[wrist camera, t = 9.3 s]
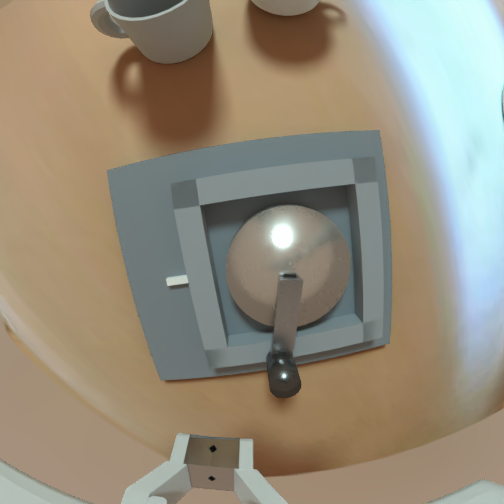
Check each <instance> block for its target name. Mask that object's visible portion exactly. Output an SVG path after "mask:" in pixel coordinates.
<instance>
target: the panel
mask: <svg viewBox="0 0 504 504" xmlns="http://www.w3.org/2000/svg"><path fill="white" fill-rule="evenodd" d="M107 174H108V181H109V187H110V194H111V200H112V205H113V211H114V216H115V222H116V227H117V232H118V236H119V241H120V246H121V250H122V254H123V259H124V263H125V267H126V271H127V275H128V279H129V283H130V287H131V290H132V294H133V298H134V301H135V305H136V308H137V312H138V315H139V318H140V322H141V325H142V328H143V331H144V334H145V337H146V340H147V343H148V346H149V349H150V352H151V355H152V358H153V361H154V364H155V367H156V369H157V372H158V375H159V377H160V380H177V379H191V378H203V377H214V376H223V375H232V374H240V373H248V372H255V371H262V370H267V365H266V356H267V354H268V353H269V352H270V349H271V341H272V332H273V326H268V325H265V324H263V323H260V322H258V321H256V320H254V319H253V318H251V317H250V316H248V315H247V314H246V313H245V312H244V311H242V310H241V308H240V307H239V306H238V305H237V304H236V302H235V300H234V299H233V297H232V295H231V293H230V291H229V288H228V284H227V280H226V259H227V253H228V249H229V246H230V243H231V240H232V238H233V236H234V234H235V233H236V231H237V230H238V228H239V227H240V226H241V224H242V223H243V222H244V221H245V220H247V219H248V218H249V217H250V216H252V215H253V214H254V213H256V212H258V211H260V210H262V209H264V208H267V207H269V206H273V205H278V204H295V205H301V206H304V207H308V208H310V209H313V210H315V211H317V212H320V213H322V214H323V215H325V216H326V217H328V218H329V219H330V220H331V221H332V222H333V223H334V224H335V225H336V226H337V227H338V228H339V229H340V231H341V233H342V234H343V236H344V238H345V240H346V242H347V245H348V248H349V252H350V260H351V268H350V275H349V280H348V283H347V286H346V288H345V290H344V292H343V294H342V296H341V298H340V299H339V301H338V302H337V303H336V304H335V305H334V307H333V308H332V309H331V310H330V311H328V312H327V313H326V314H325V315H323V316H322V317H321V318H319V319H317V320H315V321H313V322H311V323H308V324H306V325H302V326H298V327H297V330H296V337H295V343H294V350H293V357H294V360H295V364H296V365H298V364H304V363H309V362H314V361H319V360H324V359H328V358H333V357H337V356H342V355H346V354H350V353H354V352H359V351H362V350H366V349H370V348H374V347H378V346H382V345H385V344H389V343H390V329H391V307H392V252H391V229H390V214H389V201H388V191H387V181H386V173H385V165H384V157H383V150H382V144H381V137H380V132H379V130H369V131H344V132H328V133H314V134H303V135H292V136H283V137H274V138H266V139H258V140H251V141H244V142H237V143H231V144H224V145H218V146H213V147H207V148H202V149H196V150H191V151H186V152H181V153H176V154H172V155H167V156H163V157H158V158H154V159H150V160H145V161H141V162H137V163H133V164H129V165H125V166H122V167H118V168H114V169H111V170H107Z"/></svg>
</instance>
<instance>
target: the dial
mask: <svg viewBox="0 0 504 504" xmlns="http://www.w3.org/2000/svg"><path fill="white" fill-rule="evenodd" d="M350 268H351V260H350V252H349V248H348V245H347V242H346V240H345V238H344V236H343V234H342V233H341V231H340V229H339V228H338V227H337V226H336V225H335V224H334V223H333V222H332V221H331V220H330V219H329V218H328V217H326V216H325V215H323V214H322V213H320V212H317V211H315V210H313V209H310V208H308V207H304V206H301V205H295V204H278V205H273V206H269V207H267V208H264V209H262V210H260V211H258V212H256V213H254V214H253V215H252V216H250V217H249V218H248V219H247V220H245V221H244V222H243V223H242V224H241V226H240V227H239V228H238V230H237V231H236V233H235V234H234V236H233V238H232V240H231V243H230V246H229V249H228V253H227V259H226V280H227V284H228V288H229V291H230V293H231V295H232V297H233V299H234V300H235V302H236V304H237V305H238V306H239V307H240V308H241V310H242V311H244V312H245V313H246V314H247V315H248V316H250V317H251V318H253V319H254V320H256V321H258V322H260V323H263V324H265V325H268V326H273V332H272V341H271V349H270V352H269V353H268V354H267V356H266V365H267V372H268V379H269V386H270V391H271V393H272V394H273V395H274V396H276V397H279V398H288V397H292V396H294V395H295V394H297V393H298V392H299V390H300V388H301V380H300V377H299V374H298V370H297V367H296V364H295V360H294V357H293V350H294V343H295V337H296V330H297V327H298V326H302V325H306V324H308V323H311V322H313V321H315V320H317V319H319V318H321V317H322V316H323V315H325V314H326V313H327V312H328V311H330V310H331V309H332V308H333V307H334V305H335V304H336V303H337V302H338V301H339V299H340V298H341V296H342V294H343V292H344V290H345V288H346V286H347V283H348V280H349V275H350Z"/></svg>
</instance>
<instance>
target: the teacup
mask: <svg viewBox="0 0 504 504" xmlns="http://www.w3.org/2000/svg"><path fill="white" fill-rule="evenodd" d="M251 1H252V2H253V3H254V4H255V5H257V6H258V7H259V8H261V9H263V10H265V11H267V12H269V13H272V14H276V15H282V16H293V15H299V14H303V13H306V12H308V11H310V10H312V9H313V8H314V7H315V6H316V5H317V4H318V2H319V1H320V0H251Z"/></svg>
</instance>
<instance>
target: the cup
mask: <svg viewBox="0 0 504 504" xmlns="http://www.w3.org/2000/svg"><path fill="white" fill-rule="evenodd" d="M109 13H110V15H111V16H112V17H113V18H114V19H113V18H112V17H111V16H110V15H109ZM90 17H91V21H92V23H93V25H94V27H95V28H96V29H97V30H98V31H100V32H101V33H103V34H105V35H107V36H110V37H114V38H130V39H131V40H132V42H133V43H134V44H135V45H136V47H137V48H138V49H139V50H140V52H141V53H142V54H143V55H144V56H145V57H146V58H148V59H150V60H151V61H153V62H157V63H161V64H173V63H178V62H182V61H185V60H187V59H190V58H192V57H193V56H195V55H196V54H198V53H199V52H200V51H201V50H202V49H203V48H204V47H205V46H206V45H207V44H208V42H209V40H210V39H211V36H212V32H213V22H212V15H211V9H210V3H209V0H99V1H98V2H97V3H96V4H95V5H94V7H93V8H92V9H91V11H90Z"/></svg>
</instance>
